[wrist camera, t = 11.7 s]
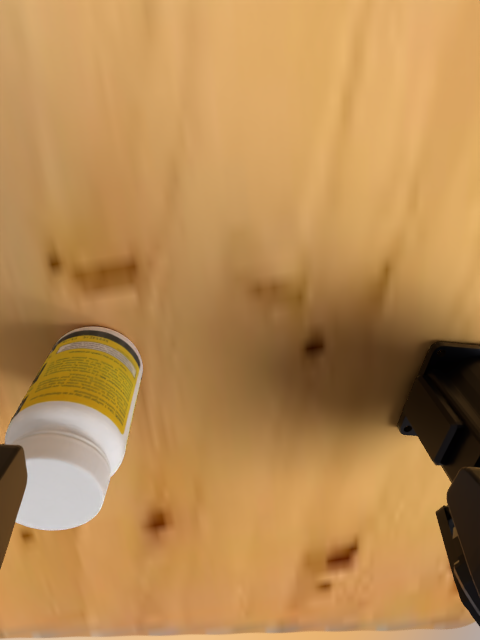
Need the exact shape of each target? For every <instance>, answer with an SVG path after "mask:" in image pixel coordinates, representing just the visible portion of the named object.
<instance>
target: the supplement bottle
mask: <svg viewBox="0 0 480 640" xmlns="http://www.w3.org/2000/svg"><path fill="white" fill-rule="evenodd" d="M142 373H143V364H142V359H141V356H140V354H139V352H138V350H137V348H136V347H135V346H134V344H133V343H132V342H131V341H130V340H129V339H128V338H126V337H125V336H124V335H122V334H120V333H118V332H116V331H114V330H111V329H108V328H104V327H93V326H91V327H82V328H78V329H75V330H72V331H70V332H68V333H66V334H65V335H64V336H62V337H61V338H60V339H59V340H58V341H57V342H56V344H55V345H54V347H53V349H52V350H51V352H50V354H49V355H48V357H47V359H46V361H45V363H44V364H43V366H42V368H41V369H40V371H39V373H38V375H37V377H36V378H35V380H34V381H33V383H32V385H31V387H30V388H29V390H28V392H27V394H26V396H25V397H24V399H23V401H22V403H21V404H20V406H19V408H18V410H17V411H16V413H15V415H14V416H13V418H12V420H11V422H10V424H9V426H8V429H7V432H6V435H5V444H9V445H20V446H22V447H23V449H24V453H25V460H26V467H27V475H28V477H27V485H26V489H25V492H24V495H23V499H22V502H21V505H20V508H19V511H18V515H17V518H16V521H15V522H17V523H19V524H21V525H24V526H27V527H30V528H35V529H41V530H64V529H70V528H74V527H77V526H80V525H83V524H85V523H86V522H88V521H90V520H91V519H92V518H94V517H95V516H96V515H97V514H98V512H99V511H100V509H101V507H102V505H103V502H104V499H105V495H106V492H107V488H108V485H109V482H110V477H111V476H112V475H113V474H114V473H115V472H116V471H117V470H118V468H119V466H120V465H121V463H122V460H123V458H124V455H125V451H126V447H127V442H128V437H129V433H130V428H131V423H132V419H133V415H134V410H135V406H136V401H137V397H138V392H139V388H140V383H141V379H142Z"/></svg>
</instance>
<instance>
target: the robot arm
mask: <svg viewBox="0 0 480 640" xmlns="http://www.w3.org/2000/svg"><path fill="white" fill-rule="evenodd" d="M440 350H442V351H441V352H440V353H437V352H438V351H440ZM406 426H407V427H406ZM397 427H398V429H399V431H400V433H401V434H403V435H413V436H418V437H419V439H420V441H421V443H422V444H423V446H424V448H425V449H426V451H427V453H428V454H429V456H430V458H431V459H432V461H433V462H434V463H435V465H441V466H442V468H443V469H444V471H445V473H446V474H447V476H448V478H449V479H450V481H451V483H452V484H451V486H450V488H449V489H448V492H447V503H448V505H447V506H443V507H441V508H440V509H439V510H438V511H436V516H437V519H438V523H439V527H440V530H441V534H442V537H443V541H444V545H445V548H446V552H447V555H448V559H449V563H450V566H451V570H452V573H453V577H454V581H455V584H456V586H457V589H458V592H459V596H460V599H461V601H462V603H463V605H464V606H465V607H466V608H467V609H468V610H469V612H470V614H471V615H472V617H473V618H474V619H475V621H476V622H477V623H478V625H479V626H480V345H470V344H459V343H448V342H437V343H434V344H433V345H432V346H431V347H430V349H429V351H428V353H427V356H426V358H425V360H424V363H423V365H422V368H421V370H420V372H419V375H418V377H417V378H416V380H415V382H414V385H413V387H412V389H411V392H410V394H409V396H408V399H407V401H406V404H405V406H404V408H403V412H402V415H401V417H400V419H399V422H398V425H397ZM27 477H28V475H27V467H26V460H25V453H24V449H23V447H22V446H20V445H9V444H1V445H0V569H1V566H2V563H3V560H4V557H5V553H6V550H7V547H8V544H9V540H10V537H11V534H12V531H13V528H14V524H15V521H16V518H17V515H18V511H19V508H20V505H21V502H22V499H23V495H24V492H25V489H26V485H27Z"/></svg>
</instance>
